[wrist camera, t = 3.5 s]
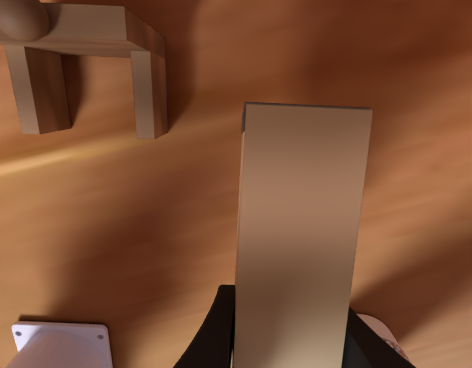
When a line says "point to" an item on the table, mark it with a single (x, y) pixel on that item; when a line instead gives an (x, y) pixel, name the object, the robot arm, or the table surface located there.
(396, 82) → the table surface
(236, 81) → the table surface
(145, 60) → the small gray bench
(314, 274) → the beige rectangular block
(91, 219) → the table surface
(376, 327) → the bath foam
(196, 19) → the table surface
